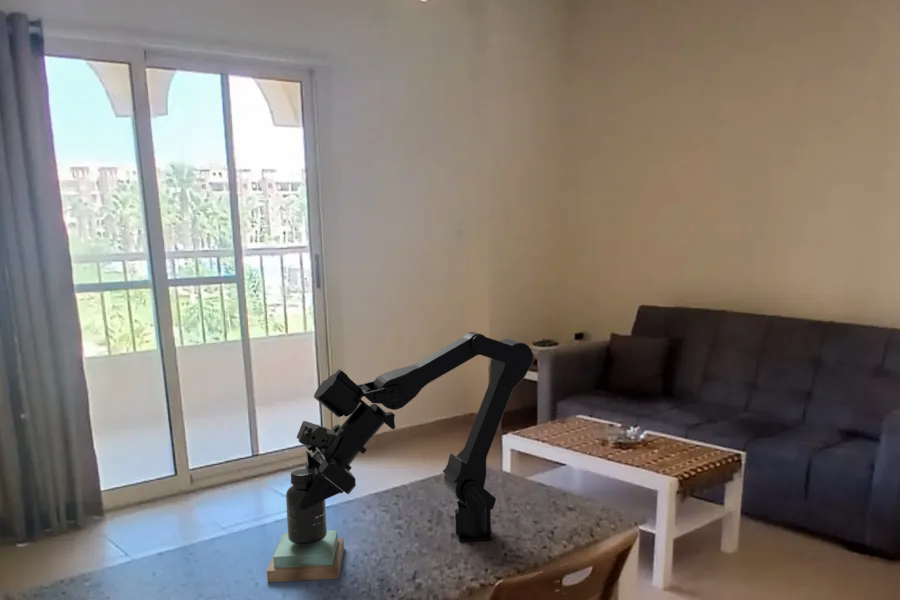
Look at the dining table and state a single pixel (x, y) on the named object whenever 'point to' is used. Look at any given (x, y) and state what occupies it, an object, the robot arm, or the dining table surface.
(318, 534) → the supplement bottle
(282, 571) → the tower base
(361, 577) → the dining table surface
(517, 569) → the dining table surface
